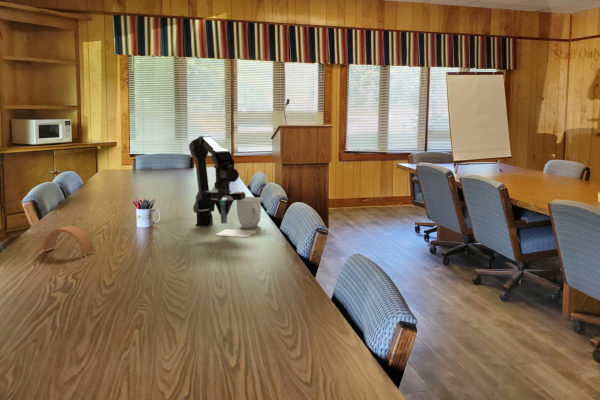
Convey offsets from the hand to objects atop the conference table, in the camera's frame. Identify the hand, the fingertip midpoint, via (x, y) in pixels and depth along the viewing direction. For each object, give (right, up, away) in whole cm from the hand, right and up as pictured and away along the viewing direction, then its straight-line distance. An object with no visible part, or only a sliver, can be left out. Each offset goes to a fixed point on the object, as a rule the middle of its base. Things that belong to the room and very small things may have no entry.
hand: (223, 214), depth 238 cm
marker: (0, -3, +1) cm, 4 cm away
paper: (+5, -8, +1) cm, 10 cm away
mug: (+10, -6, +14) cm, 18 cm away
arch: (-57, -14, -26) cm, 64 cm away
